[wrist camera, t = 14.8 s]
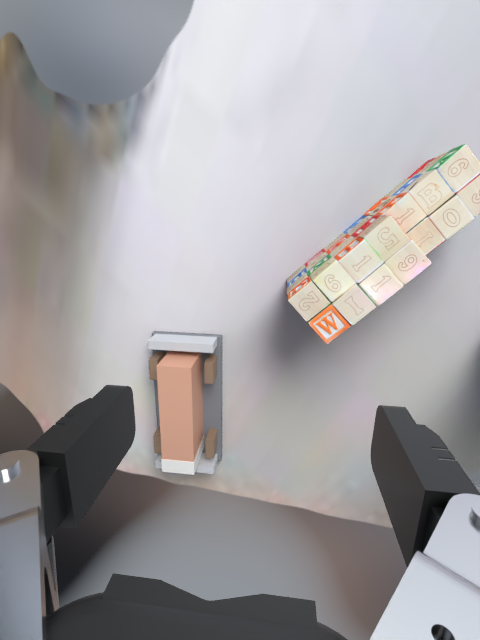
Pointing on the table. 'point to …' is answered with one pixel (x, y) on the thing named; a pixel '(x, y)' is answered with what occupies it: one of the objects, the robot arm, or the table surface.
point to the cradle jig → (211, 389)
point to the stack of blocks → (387, 244)
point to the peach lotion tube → (180, 411)
